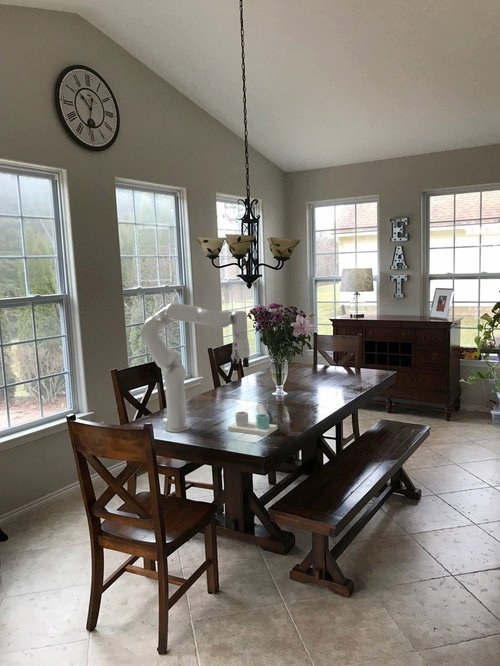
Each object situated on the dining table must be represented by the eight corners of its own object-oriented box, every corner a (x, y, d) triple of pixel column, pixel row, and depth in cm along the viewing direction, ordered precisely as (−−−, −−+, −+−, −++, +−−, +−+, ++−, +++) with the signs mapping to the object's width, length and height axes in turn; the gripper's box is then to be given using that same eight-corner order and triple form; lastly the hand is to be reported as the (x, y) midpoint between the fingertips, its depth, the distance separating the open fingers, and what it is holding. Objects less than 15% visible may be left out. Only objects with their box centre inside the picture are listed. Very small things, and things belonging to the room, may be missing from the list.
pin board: (227, 430, 274) (227, 417, 273) (239, 424, 284) (238, 411, 283) (266, 436, 263) (266, 422, 262) (277, 429, 274) (276, 415, 273)
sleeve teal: (254, 428, 269) (254, 416, 268) (260, 425, 275) (260, 413, 274) (265, 429, 266) (265, 417, 266) (271, 426, 272) (270, 414, 271)
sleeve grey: (233, 425, 275) (233, 414, 274) (239, 422, 280) (239, 411, 279) (244, 427, 272) (243, 415, 271) (250, 423, 277) (249, 412, 277)
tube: (254, 404, 309) (258, 415, 284) (263, 400, 309) (267, 412, 284) (257, 412, 309) (261, 425, 285) (266, 409, 310) (271, 421, 285)
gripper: (238, 338, 264) (239, 372, 266) (254, 333, 279) (255, 366, 281) (224, 337, 268) (226, 371, 270) (241, 333, 283) (243, 365, 285)
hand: (241, 368), depth 276 cm, fingers open, 9 cm apart
